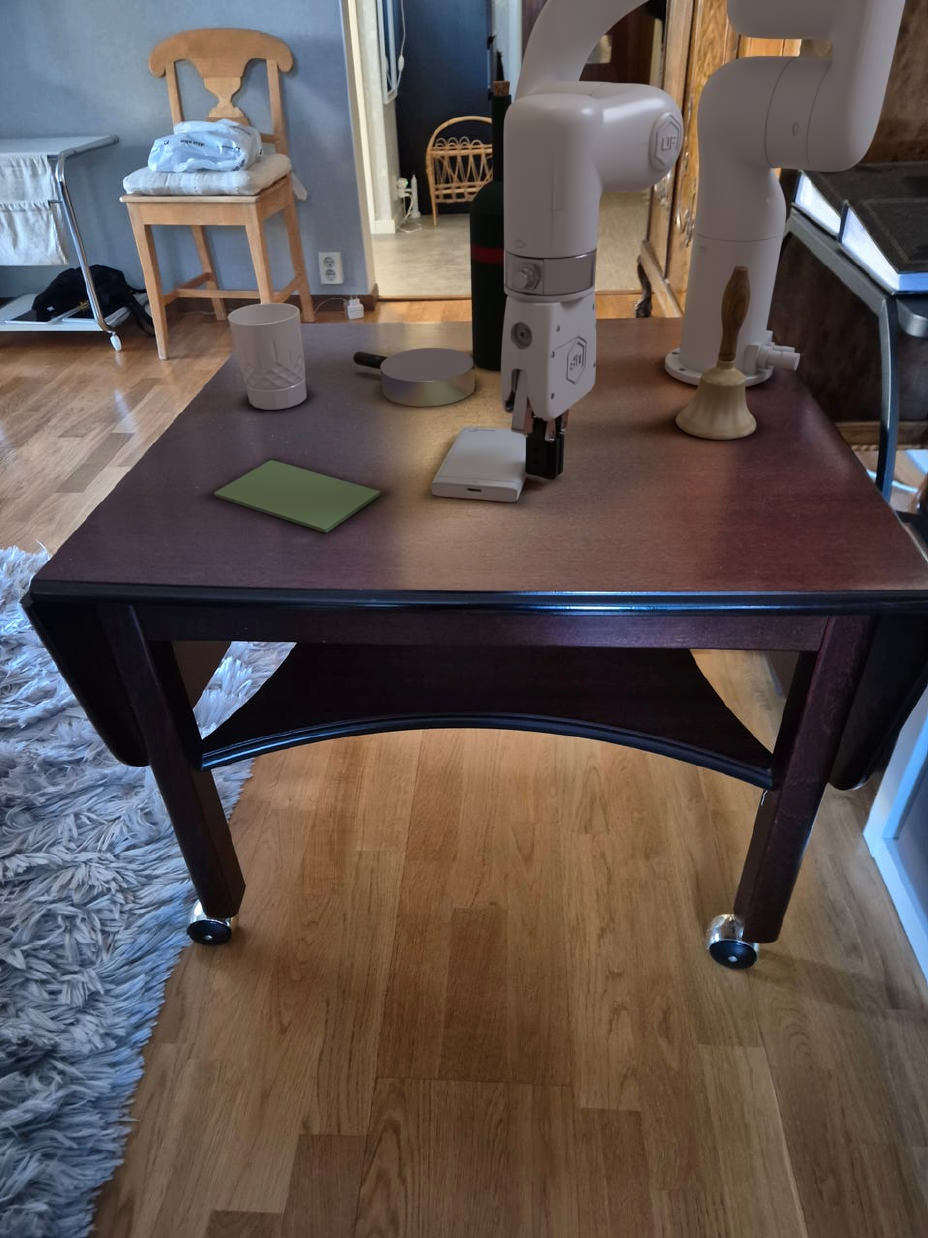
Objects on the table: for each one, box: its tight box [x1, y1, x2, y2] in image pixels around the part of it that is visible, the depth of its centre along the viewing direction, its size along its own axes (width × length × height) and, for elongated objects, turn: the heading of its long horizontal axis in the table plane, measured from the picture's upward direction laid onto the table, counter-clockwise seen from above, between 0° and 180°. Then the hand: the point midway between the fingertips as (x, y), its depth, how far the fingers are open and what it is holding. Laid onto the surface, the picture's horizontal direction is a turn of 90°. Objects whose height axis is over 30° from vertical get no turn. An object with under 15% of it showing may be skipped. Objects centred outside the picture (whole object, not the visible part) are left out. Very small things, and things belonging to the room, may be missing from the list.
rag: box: [213, 459, 382, 534], centre depth 80 cm, size 14×8×1 cm, turn 57°
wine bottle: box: [468, 80, 513, 372], centre depth 99 cm, size 8×10×30 cm
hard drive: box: [431, 426, 528, 503], centre depth 83 cm, size 2×8×12 cm
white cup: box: [227, 302, 308, 411], centre depth 97 cm, size 8×8×10 cm
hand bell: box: [675, 266, 757, 441], centre depth 85 cm, size 8×8×16 cm
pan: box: [352, 347, 476, 408], centre depth 101 cm, size 16×11×3 cm, turn 57°
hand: (544, 473), depth 80 cm, fingers closed
